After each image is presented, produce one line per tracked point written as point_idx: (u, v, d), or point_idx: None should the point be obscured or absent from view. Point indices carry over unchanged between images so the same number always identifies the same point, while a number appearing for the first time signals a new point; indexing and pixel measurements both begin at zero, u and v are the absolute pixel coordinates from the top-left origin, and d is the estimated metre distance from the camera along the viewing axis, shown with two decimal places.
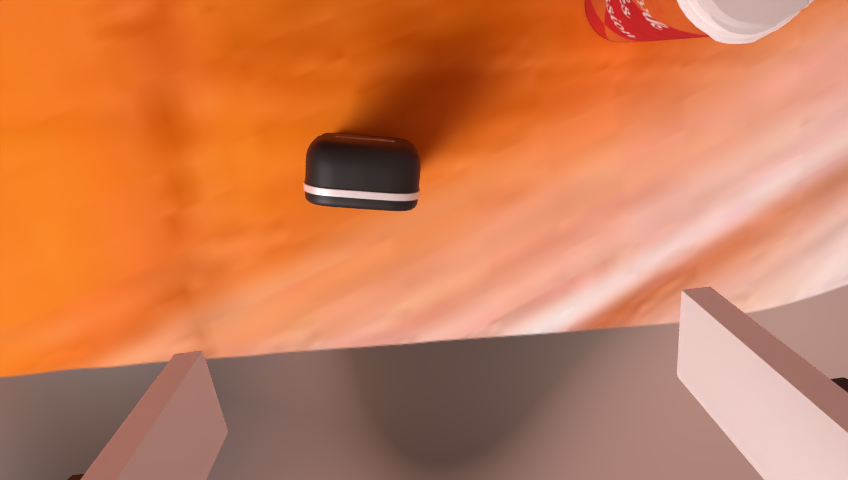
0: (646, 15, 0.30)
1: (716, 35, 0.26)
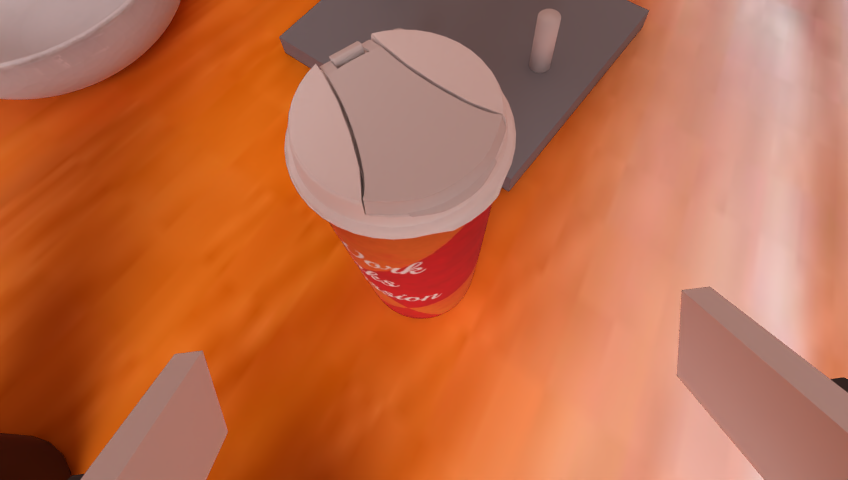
0: (395, 271, 0.21)
1: (445, 225, 0.17)
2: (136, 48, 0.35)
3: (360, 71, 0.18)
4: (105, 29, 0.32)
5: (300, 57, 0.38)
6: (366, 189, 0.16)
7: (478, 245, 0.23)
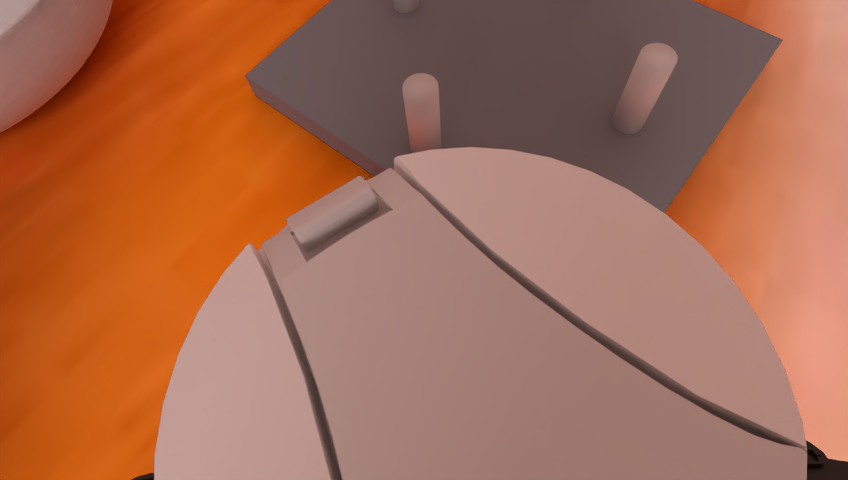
0: None
1: None
2: (29, 95, 0.23)
3: (367, 272, 0.07)
4: None
5: (276, 105, 0.26)
6: None
7: None
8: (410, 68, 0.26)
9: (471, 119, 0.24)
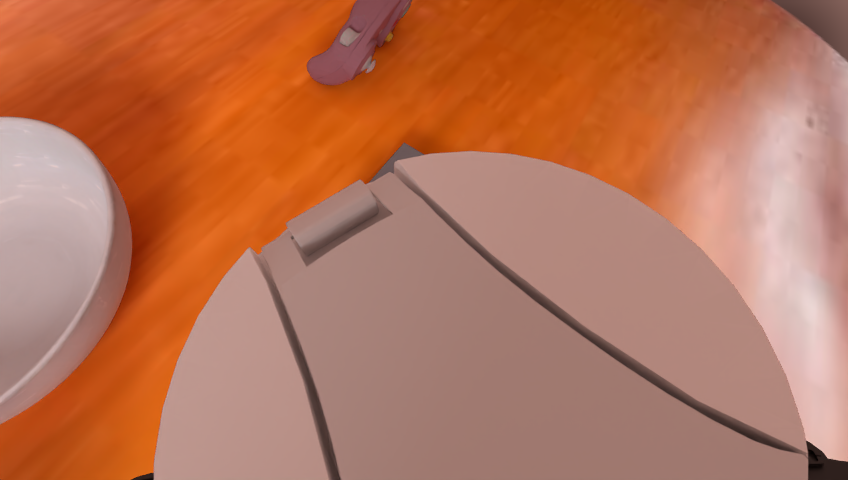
0: None
1: None
2: (71, 371, 0.30)
3: (366, 277, 0.07)
4: (28, 385, 0.27)
5: None
6: None
7: None
8: None
9: None
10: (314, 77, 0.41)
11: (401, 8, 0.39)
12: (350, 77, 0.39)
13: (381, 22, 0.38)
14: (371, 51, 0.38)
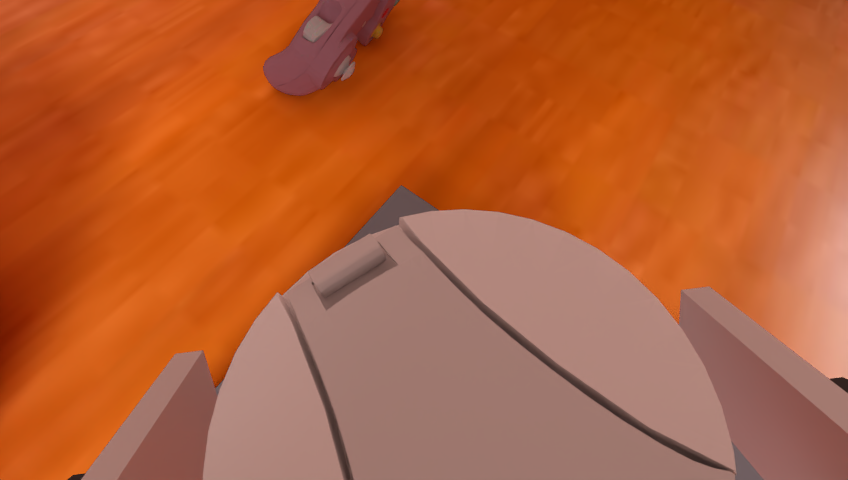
0: None
1: None
2: None
3: (376, 319, 0.08)
4: None
5: None
6: None
7: None
8: None
9: None
10: (273, 84, 0.30)
11: None
12: (318, 85, 0.28)
13: (362, 9, 0.27)
14: (348, 50, 0.27)
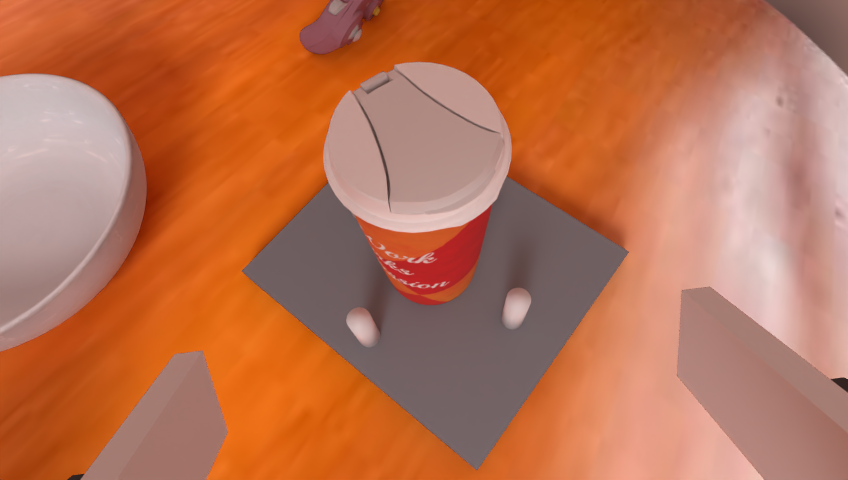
0: (411, 260, 0.25)
1: (454, 221, 0.21)
2: (88, 299, 0.33)
3: (385, 96, 0.22)
4: (51, 304, 0.30)
5: (264, 290, 0.36)
6: (392, 192, 0.20)
7: (480, 240, 0.27)
8: (361, 268, 0.35)
9: (402, 313, 0.34)
10: (306, 46, 0.45)
11: None
12: (338, 44, 0.42)
13: None
14: (358, 21, 0.42)
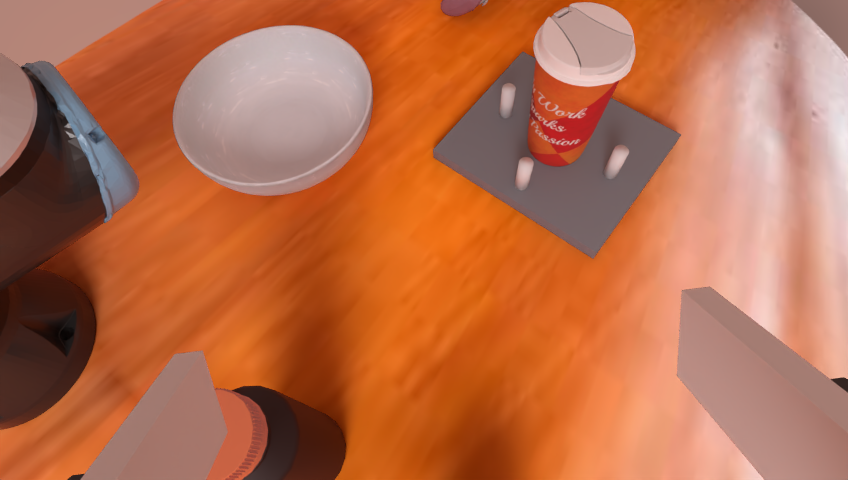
0: (571, 116, 0.45)
1: (610, 80, 0.41)
2: (347, 161, 0.53)
3: (569, 19, 0.42)
4: (340, 156, 0.50)
5: (446, 162, 0.56)
6: (581, 63, 0.40)
7: None
8: (510, 146, 0.55)
9: (540, 171, 0.54)
10: (445, 10, 0.65)
11: None
12: (473, 7, 0.62)
13: None
14: None
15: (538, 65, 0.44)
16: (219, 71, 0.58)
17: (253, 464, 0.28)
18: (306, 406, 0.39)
